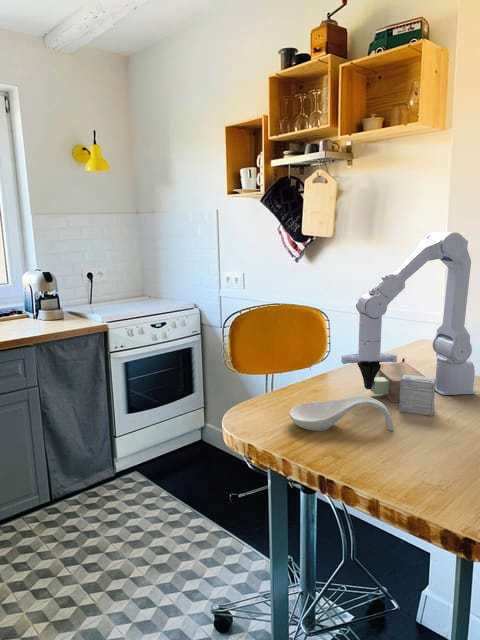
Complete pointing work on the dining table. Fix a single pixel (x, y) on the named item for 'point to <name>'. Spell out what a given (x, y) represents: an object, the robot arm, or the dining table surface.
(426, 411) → the medicine box
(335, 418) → the spoon rest
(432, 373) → the dining table surface
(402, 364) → the walnut block
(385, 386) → the sage bar
